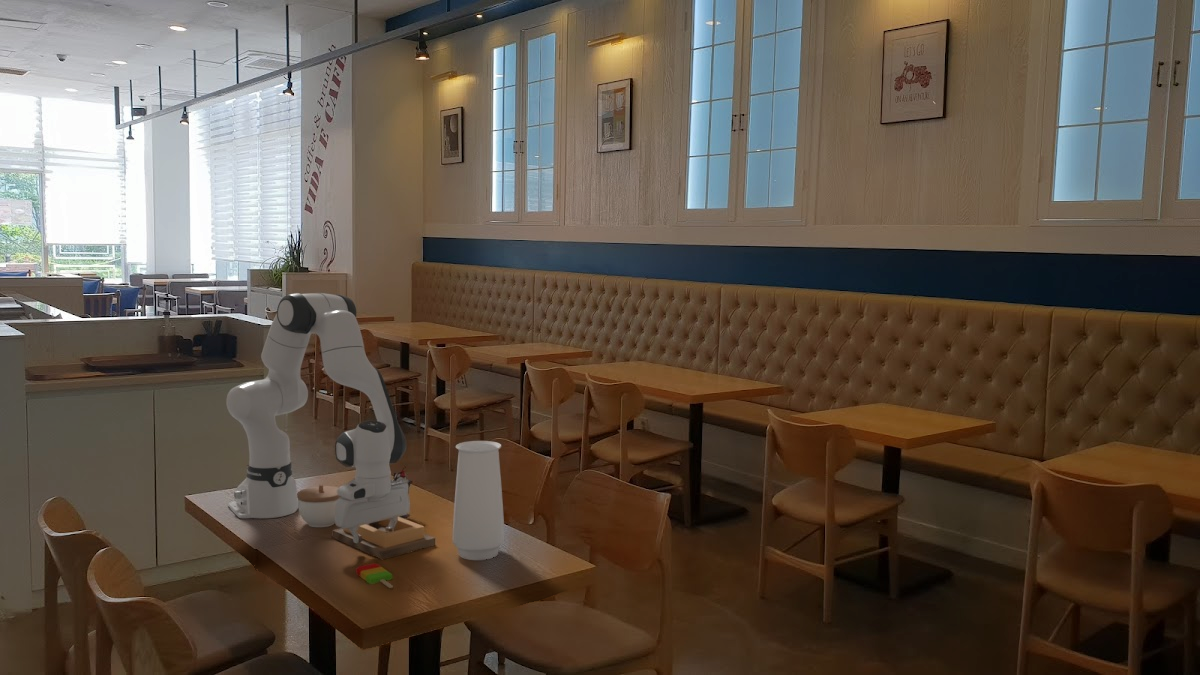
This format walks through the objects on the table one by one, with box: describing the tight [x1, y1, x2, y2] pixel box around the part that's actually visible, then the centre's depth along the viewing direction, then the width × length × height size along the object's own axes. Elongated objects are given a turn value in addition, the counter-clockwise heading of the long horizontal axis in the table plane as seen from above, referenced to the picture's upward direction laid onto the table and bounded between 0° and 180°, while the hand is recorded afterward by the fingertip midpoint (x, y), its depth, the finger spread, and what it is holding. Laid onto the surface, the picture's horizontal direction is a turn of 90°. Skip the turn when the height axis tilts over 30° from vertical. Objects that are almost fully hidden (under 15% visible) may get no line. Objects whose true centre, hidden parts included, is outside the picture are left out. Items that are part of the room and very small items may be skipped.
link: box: [343, 517, 425, 548], centre depth 242 cm, size 20×12×3 cm, turn 46°
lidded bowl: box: [297, 484, 340, 528], centre depth 257 cm, size 13×13×11 cm
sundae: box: [391, 465, 413, 519], centre depth 265 cm, size 7×7×15 cm
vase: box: [452, 440, 505, 561], centre depth 233 cm, size 13×13×28 cm
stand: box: [331, 521, 436, 560], centre depth 242 cm, size 24×16×15 cm, turn 46°
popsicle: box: [356, 563, 394, 589], centre depth 215 cm, size 6×15×2 cm, turn 37°
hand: (373, 538), depth 237 cm, fingers open, 8 cm apart
